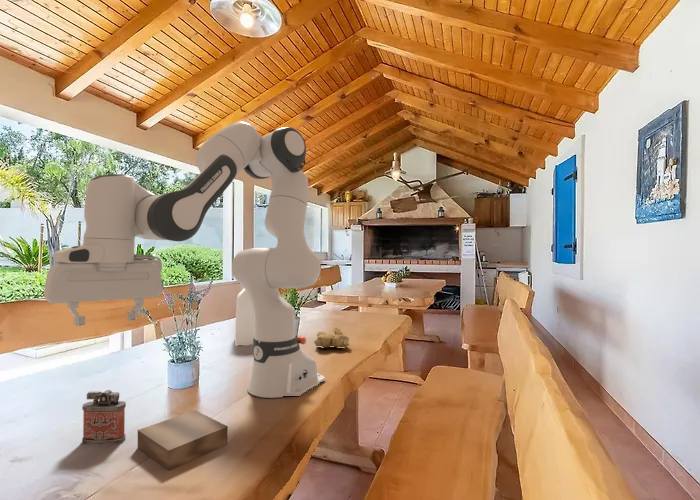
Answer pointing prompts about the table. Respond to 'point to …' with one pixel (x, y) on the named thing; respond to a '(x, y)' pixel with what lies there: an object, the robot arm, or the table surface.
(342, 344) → the ginger root
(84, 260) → the robot arm
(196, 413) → the walnut base
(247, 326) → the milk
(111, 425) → the lighter
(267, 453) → the table surface
